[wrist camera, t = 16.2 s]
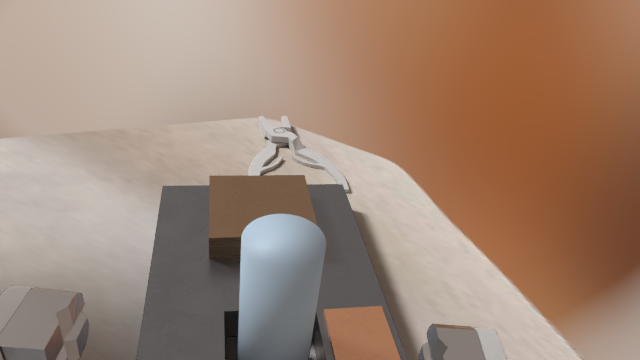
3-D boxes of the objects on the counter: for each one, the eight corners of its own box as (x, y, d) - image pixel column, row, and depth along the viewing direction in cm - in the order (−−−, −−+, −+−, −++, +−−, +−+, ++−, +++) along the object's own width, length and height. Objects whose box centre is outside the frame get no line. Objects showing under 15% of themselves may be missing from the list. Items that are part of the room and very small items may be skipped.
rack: (127, 477, 26) (117, 427, 23) (164, 209, 45) (161, 166, 42) (419, 442, 29) (437, 395, 27) (339, 205, 48) (345, 165, 45)
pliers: (253, 189, 46) (230, 117, 58) (252, 203, 47) (230, 129, 59) (352, 181, 49) (312, 114, 61) (350, 195, 50) (310, 125, 62)
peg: (238, 406, 30) (243, 271, 24) (235, 345, 33) (239, 214, 27) (311, 399, 31) (333, 267, 25) (300, 341, 34) (318, 212, 28)
